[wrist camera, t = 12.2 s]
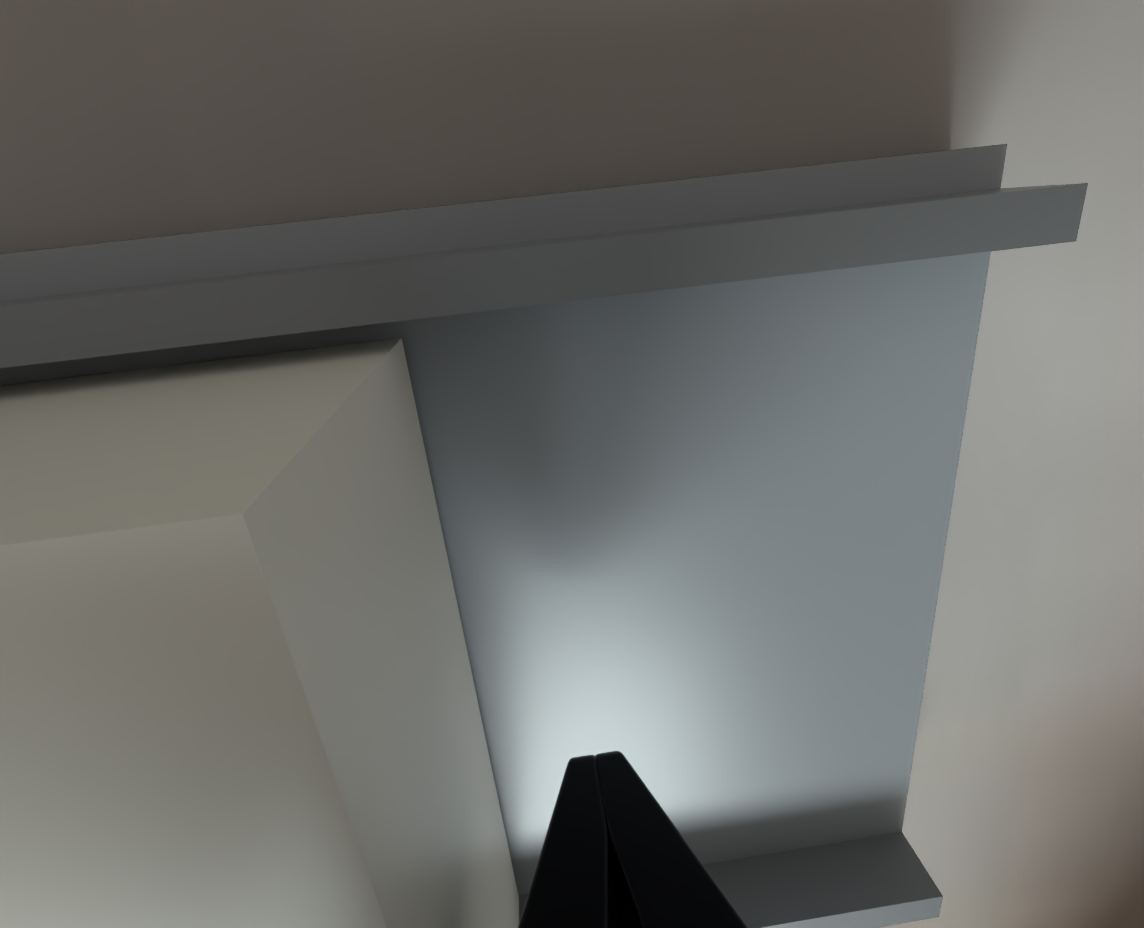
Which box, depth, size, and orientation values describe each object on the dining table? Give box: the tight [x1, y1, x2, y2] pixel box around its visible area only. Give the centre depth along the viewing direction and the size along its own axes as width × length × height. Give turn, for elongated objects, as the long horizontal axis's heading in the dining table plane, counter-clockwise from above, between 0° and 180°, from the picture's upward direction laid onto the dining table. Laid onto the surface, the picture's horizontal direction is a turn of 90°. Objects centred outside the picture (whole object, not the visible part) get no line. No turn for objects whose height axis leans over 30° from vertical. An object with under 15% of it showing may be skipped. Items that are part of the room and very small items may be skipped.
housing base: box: [0, 144, 1088, 928], centre depth 11 cm, size 22×16×3 cm
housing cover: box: [0, 338, 519, 928], centre depth 8 cm, size 9×13×6 cm
